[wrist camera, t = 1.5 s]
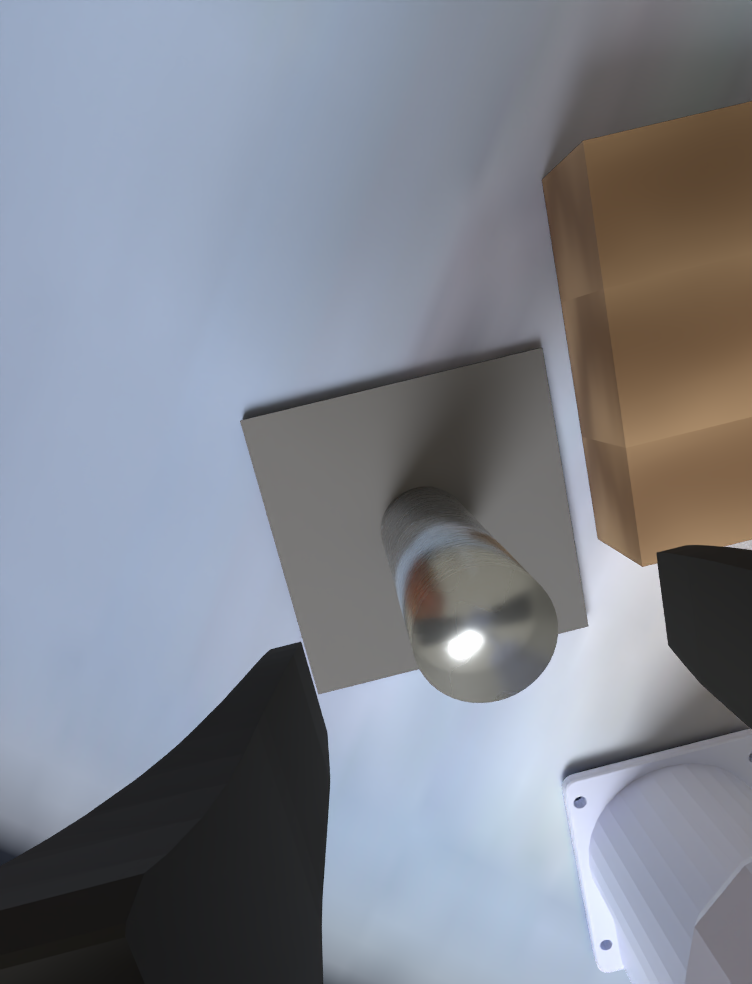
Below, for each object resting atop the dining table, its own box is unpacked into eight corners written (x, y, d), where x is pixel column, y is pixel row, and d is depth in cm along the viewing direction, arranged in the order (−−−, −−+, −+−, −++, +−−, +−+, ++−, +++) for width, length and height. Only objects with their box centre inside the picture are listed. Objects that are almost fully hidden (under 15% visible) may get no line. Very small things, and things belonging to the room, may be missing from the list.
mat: (583, 621, 21) (588, 626, 20) (318, 688, 21) (318, 694, 20) (537, 348, 19) (542, 348, 18) (242, 419, 18) (240, 420, 18)
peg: (475, 559, 20) (568, 682, 12) (391, 580, 20) (429, 718, 12) (458, 477, 19) (544, 548, 11) (371, 498, 19) (397, 585, 11)
